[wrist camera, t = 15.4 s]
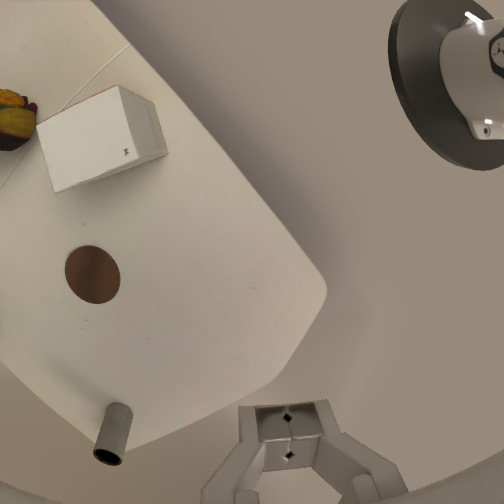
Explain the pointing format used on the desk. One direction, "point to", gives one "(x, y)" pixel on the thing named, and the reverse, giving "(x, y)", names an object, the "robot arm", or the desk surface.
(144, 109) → the small box
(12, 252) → the desk surface
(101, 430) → the grey cylinder
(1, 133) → the figurine
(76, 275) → the coaster
